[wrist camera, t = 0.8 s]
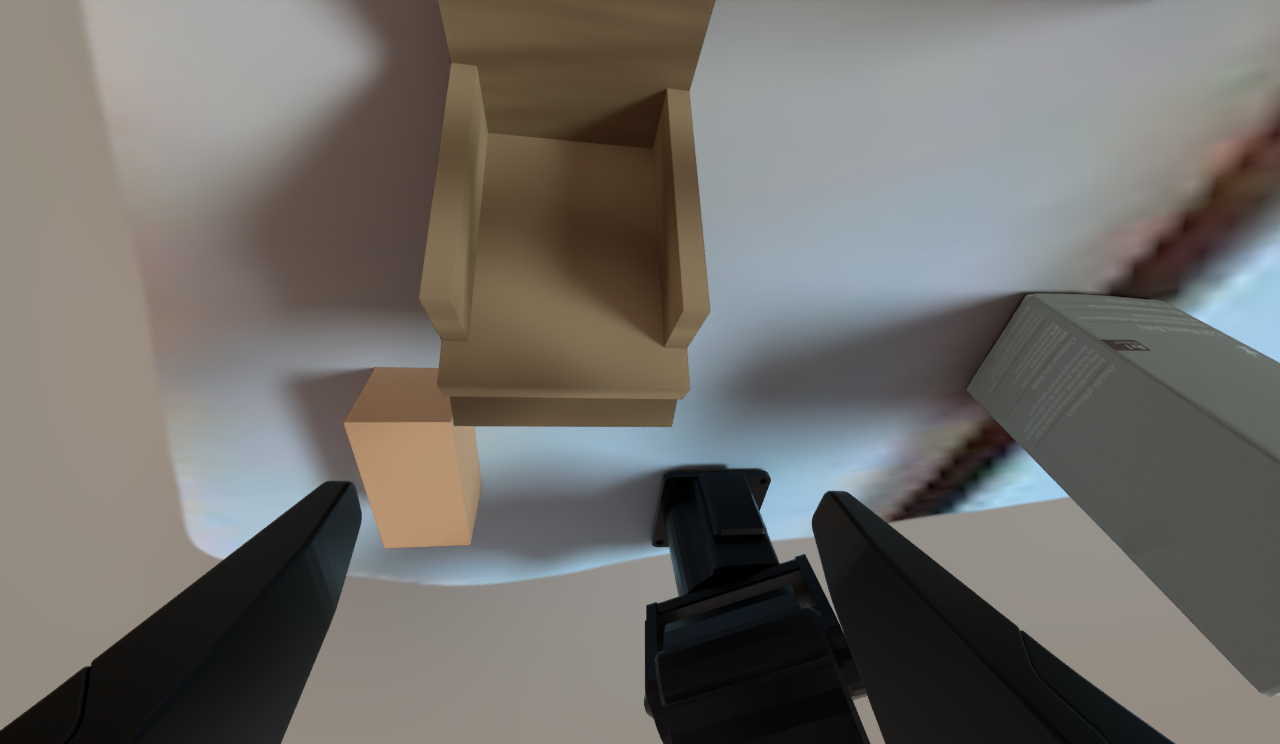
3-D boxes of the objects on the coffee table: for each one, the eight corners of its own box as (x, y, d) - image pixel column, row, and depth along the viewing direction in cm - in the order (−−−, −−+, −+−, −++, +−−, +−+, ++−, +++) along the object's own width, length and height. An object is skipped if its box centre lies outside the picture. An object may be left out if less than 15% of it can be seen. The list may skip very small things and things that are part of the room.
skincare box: (1158, 295, 25) (1782, 574, 12) (1073, 403, 29) (1475, 698, 16) (1017, 287, 24) (1553, 590, 11) (949, 401, 28) (1280, 722, 15)
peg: (482, 483, 27) (470, 544, 24) (407, 485, 27) (384, 548, 23) (467, 366, 23) (450, 422, 19) (376, 365, 22) (343, 422, 19)
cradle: (650, 329, 22) (688, 464, 15) (478, 323, 21) (433, 467, 14) (708, -83, 14) (840, -191, 7) (438, -131, 13) (289, -316, 6)
